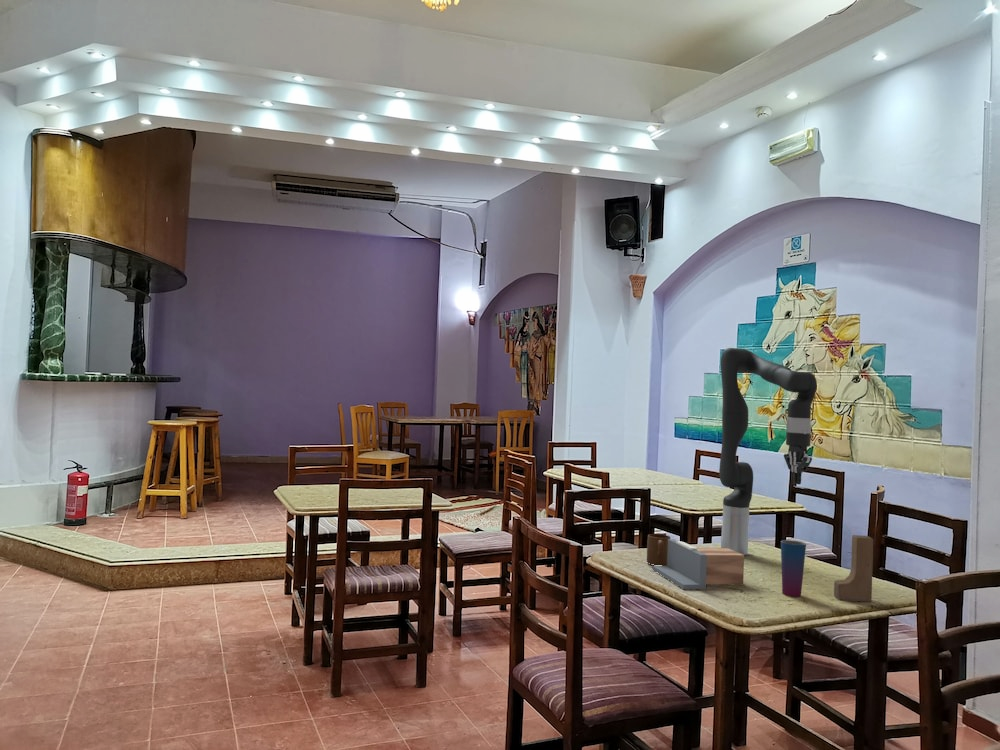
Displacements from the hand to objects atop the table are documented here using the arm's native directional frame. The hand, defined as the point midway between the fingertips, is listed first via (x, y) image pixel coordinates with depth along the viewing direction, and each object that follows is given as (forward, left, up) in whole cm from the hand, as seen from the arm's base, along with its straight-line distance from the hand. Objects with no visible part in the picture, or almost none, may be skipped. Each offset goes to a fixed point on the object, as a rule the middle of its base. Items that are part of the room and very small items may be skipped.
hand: (796, 483), depth 240 cm
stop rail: (+10, -45, -29) cm, 55 cm away
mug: (-8, -44, -29) cm, 53 cm away
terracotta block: (+11, -34, -29) cm, 46 cm away
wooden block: (+32, -2, -29) cm, 43 cm away
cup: (+27, -18, -29) cm, 44 cm away
